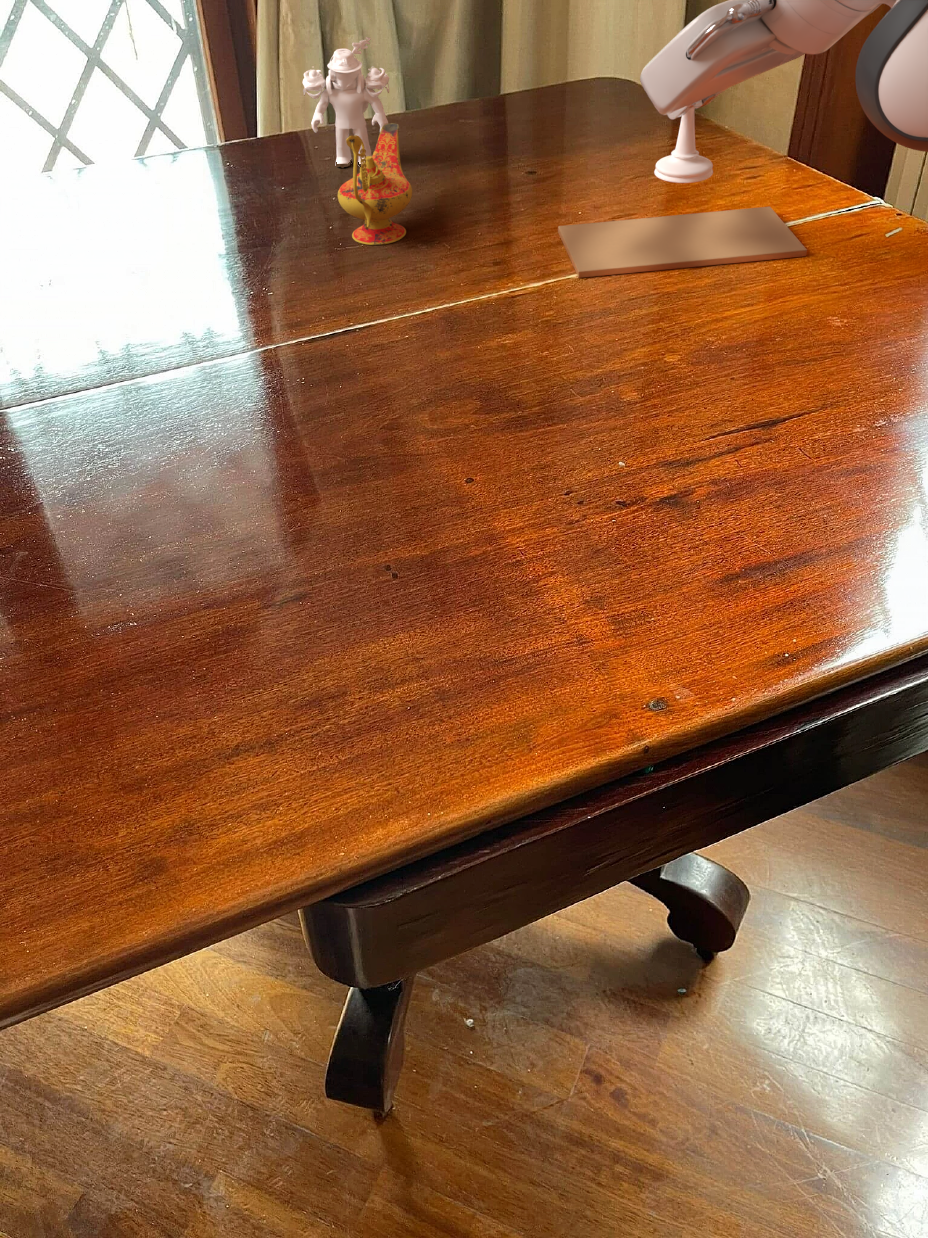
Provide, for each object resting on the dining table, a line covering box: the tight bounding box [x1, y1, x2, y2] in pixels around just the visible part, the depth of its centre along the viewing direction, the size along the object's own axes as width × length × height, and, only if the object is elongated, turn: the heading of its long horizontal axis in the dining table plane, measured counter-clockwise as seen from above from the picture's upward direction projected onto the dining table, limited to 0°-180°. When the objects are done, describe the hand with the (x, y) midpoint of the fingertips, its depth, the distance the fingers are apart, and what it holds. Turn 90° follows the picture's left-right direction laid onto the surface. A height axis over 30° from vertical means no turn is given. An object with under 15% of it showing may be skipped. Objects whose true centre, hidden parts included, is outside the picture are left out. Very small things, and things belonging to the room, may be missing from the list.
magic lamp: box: [337, 122, 413, 246], centre depth 100 cm, size 7×18×11 cm, turn 173°
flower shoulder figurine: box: [302, 36, 390, 164], centre depth 113 cm, size 9×4×12 cm, turn 87°
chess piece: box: [653, 100, 714, 184], centre depth 90 cm, size 5×5×10 cm
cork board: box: [557, 206, 808, 279], centre depth 98 cm, size 20×10×1 cm, turn 96°
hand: (683, 104), depth 90 cm, fingers closed on chess piece
